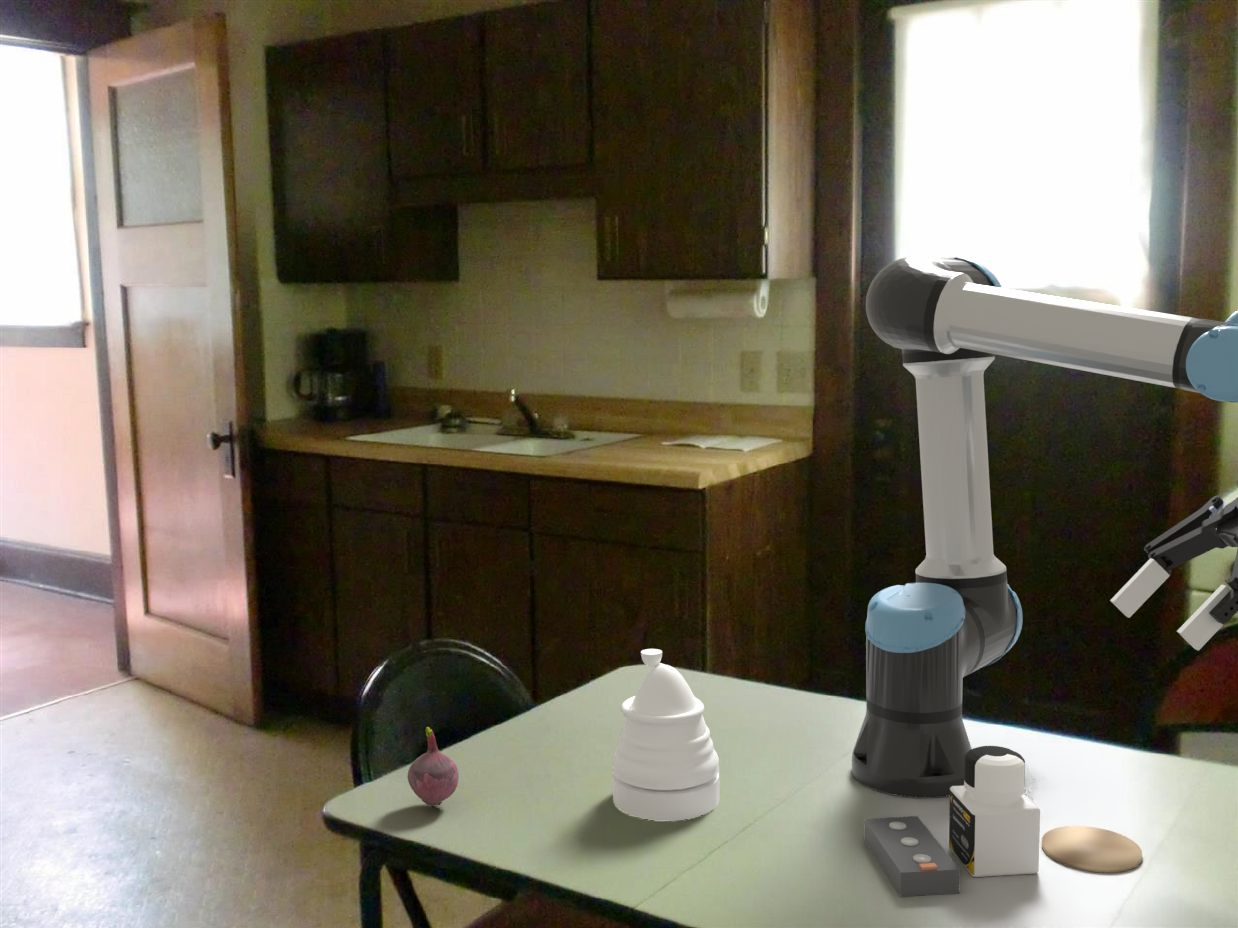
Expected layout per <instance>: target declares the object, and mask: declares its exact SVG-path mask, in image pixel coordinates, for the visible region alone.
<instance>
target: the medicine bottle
mask: <svg viewBox="0 0 1238 928" xmlns="http://www.w3.org/2000/svg"><path fill="white" fill-rule="evenodd" d="M1025 771H1026V760H1025V758H1024V757H1023V756H1022V755H1021V754H1020V753H1019V752H1017V751H1015V750H1012V749H1010V748H1008V747H1004V746H999V745H982V746H977V747H974V748H972V749H971V750H969V751H968V752H967V753H966V754H965V768H964V786H952V787H950V796H949V814H948V816H949V818H948V820H949V823H948V824H949V825H948V848H949V849H950V851H951V852H952V853H953V854H954V856H955V857H956V858H957V859H958V860H959V862H960V863H961V864H962V865H963V867H964V868H965V870H967V871H968V873H969V874H970V875H971V876H972V877H973V878H983V877H999V876H1016V875H1017V876H1019V875H1020V876H1021V875H1033V874H1035V875H1036V874H1038V873H1039V869H1040V868H1039V867H1040V835H1041V834H1040V832H1041V831H1040V828H1041V827H1040V826H1041V809H1040V808H1039V806H1037V805H1036V804H1035V803H1034V802H1033V801H1031V799H1030V798H1029V797H1027V795H1025V784H1026V783H1025V782H1026V781H1025V777H1026V772H1025Z"/></svg>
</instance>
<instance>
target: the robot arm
mask: <svg viewBox="0 0 1238 928" xmlns="http://www.w3.org/2000/svg"><path fill="white" fill-rule="evenodd" d="M865 312H866V316H867V319H868V322H869V325H870V327H871V328H872V330H873V332H874V333H875V334H876V336H878V338H879V339H881V340H882V341H883V342H884V343H885V344H888V345H890V346H892V347H893V348H897V349H900V350H901V355H902V356H901V358H902V367H904V368H905V369H906V370H907V371H908V372H910V373H911V374H912V376H913V377H914V379H915V392H916V409H917V424H918V425H917V426H918V439H919V457H920V473H921V488H922V489H921V491H922V505H923V508H922V509H923V522H924V537H925V538H924V539H925V553H926V555H925V558H924V560H923V561H921V563H920V564H919V565H918V566H917V567H916V568H915V582H908V583H905V584H904V585H903V584H902V585H900V584H896V585H892V586H888V587H885V588H883V589H881V590H880V591H878V592H877V593H875V594H874V595H873V596H872V597H871V599H870V600H869V603H868V605H867V613H866V615H867V617H866V621H865V623H864V624H865V627H864V628H865V629H864V630H865V635H866V636H865V637H866V641H865V646H866V647H865V648H866V651H865V653H866V655H865V660H866V662H865V664H866V667H865V668H866V670H865V671H866V675H865V677H866V678H865V680H866V682H865V684H866V685H865V688H866V689H865V692H866V699H865V700H866V702H865V703H866V707H865V710H866V711H865V714H864V715H865V716H864V718H863V721H862V724H861V726H860V727H861V728H860V730H859V733H858V736H857V738H856V742H855V744H854V748H853V750H852V755H851V773H852V775H853V777H854V778H855V779H856V781H858V782H859V783H860V784H862V785H864V786H866V787H868V788H870V789H873V790H875V791H878V792H881V793H885V794H889V795H894V796H900V797H906V798H907V797H908V798H919V799H920V798H923V799H926V798H927V799H928V798H929V799H930V798H931V799H932V798H944V797H950V787H952V786H964V768H965V754H966V753H967V752H968V751H969V750H971V749H973V748H972V745H971V743H970V740H969V736H968V733H967V730H966V726H965V725H964V721H963V685H964V684H963V683H964V682H963V678H965V677H966V676H968V675H970V674H972V673H974V672H976V671H978V670H980V669H981V668H983V667H988V666H990V665H992V664H994V663H996V662H997V661H998V660H1000V659H1001V658H1002V657H1003V656H1005V655H1006V653H1008V652H1009V651H1010V650H1011V649H1012V648H1013V647H1014V645H1015V644H1016V642H1018V639H1019V637H1020V634H1021V631H1022V629H1023V627H1022V626H1023V621H1024V620H1023V617H1024V616H1023V609H1022V605H1021V602H1020V599H1019V596H1018V595H1017V593H1016V592H1015V591H1013V590H1012V588H1011V587H1010V585H1009V584H1008V575H1007V566H1006V565H1005V564H1004V563H1003V562H1002V561H1001V560H1000V559H999V558H997V557H996V556H995V554H994V540H993V539H994V537H993V520H992V518H993V517H992V507H991V506H992V504H991V488H990V486H991V484H990V473H989V472H990V468H989V452H988V450H989V448H988V434H987V433H988V431H987V418H986V415H987V414H986V400H985V399H986V398H985V396H986V395H985V382H984V378H985V377H984V373H985V370H987V368H989V366H990V365H991V364H992V363H993V361H995V358H996V355H998V356H1002V357H1008V358H1013V359H1019V360H1024V361H1025V360H1026V361H1030V362H1035V363H1041V364H1047V365H1051V366H1057V367H1061V368H1062V367H1063V368H1067V369H1072V370H1079V371H1084V372H1088V373H1089V372H1090V373H1095V374H1099V375H1106V376H1109V377H1110V376H1111V377H1117V378H1122V379H1128V380H1133V381H1136V382H1137V381H1138V382H1142V383H1147V384H1148V383H1149V384H1154V385H1159V386H1165V387H1169V388H1175V389H1180V390H1184V391H1186V392H1187V391H1188V392H1193V393H1198V394H1200V395H1203V396H1204V397H1206V398H1209V399H1210V400H1214V401H1219V402H1226V403H1238V310H1237V311H1234V312H1233V313H1232V314H1231V315H1230V316H1229V317H1228V318H1227V319H1226V320H1225V321H1219V320H1214V319H1206V318H1196V317H1193V316H1192V317H1191V316H1184V315H1178V314H1172V313H1171V314H1170V313H1167V312H1166V313H1165V312H1159V311H1151V310H1147V309H1139V308H1133V307H1127V306H1126V307H1125V306H1120V305H1116V304H1115V305H1113V304H1108V303H1107V304H1106V303H1101V302H1095V301H1089V300H1082V299H1076V298H1075V299H1073V298H1068V297H1064V296H1063V297H1061V296H1056V295H1055V296H1054V295H1049V294H1041V293H1037V292H1029V291H1024V290H1017V289H1009V288H1003V287H1002V285H1001V283H1000V281H999V279H997V276H995V274H994V273H992V272H991V271H990V270H989V269H988V268H987V267H986V266H984V265H982V264H980V263H978V262H975V261H972V260H969V259H966V258H961V257H957V256H956V257H949V256H948V257H934V256H932V257H929V256H928V257H927V256H920V255H919V256H917V255H915V256H907V257H902V258H899V259H896V260H894V261H891V262H890V263H888V264H887V265H885V266H884V267H883V268H882V269H881V270H879V271H878V272H877V274H876V275H875V276H874V278H873V279H872V281H871V283H870V285H869V287H868V290H867V293H866V298H865ZM1236 485H1237V487H1238V480H1237V482H1236ZM1227 547H1230V548H1237V550H1236V554H1235V558H1234V559H1235V560H1234V563H1233V568H1232V571H1231V577H1230V578H1227V579H1224V582H1225V583H1226V584H1227V585H1228V586H1227V585H1225V584H1220V586H1219V587H1217V588H1216V590H1215V591H1214V592H1213V593H1212V594H1211V595H1210V596H1209V597H1208V598H1207V599H1206V600H1205V601H1204V602H1203V603H1202V604H1201V605H1200V606H1199V607H1198V608H1197V610H1195V611H1194V613H1193V614H1191V616H1190V617H1188V619H1186V621H1185V622H1184V623H1183V624H1182V625H1181V626H1180V627H1179V628H1178V629H1177V630H1176V632H1177V633H1178V634H1179V635H1180V636H1181V637H1182V638H1183V639H1184V640H1185V641H1186V642H1187V643H1188V644H1189V645H1190V646H1191V647H1192V648H1193V649H1194V650H1196V651H1200V650H1201V649H1202V648H1203V647H1204V646H1205V645H1206V643H1207V642H1209V640H1210V639H1211V638H1212V637H1213V636H1214V635H1215V634H1216V633H1217V632H1218V631H1219V630H1220V629H1221V628H1222V627H1223V626H1224V625H1225V624H1227V623H1228V622H1229V621H1230V620H1231V619H1232V618H1233V617H1234V616H1235V615H1236V614H1237V613H1238V496H1237V497H1236V498H1235V499H1233V500H1231V502H1229V503H1228V502H1225V501H1224V499H1222V498H1221V496H1219V495H1215V496H1214V495H1213V497H1211V498H1210V499H1209V500H1208V501H1207V502H1205V504H1204V505H1203V506H1202V507H1200V508H1199V509H1198V510H1197V511H1195V512H1193V513H1192V514H1191V515H1189V516H1187V517H1186V518H1185V519H1183V520H1181V521H1180V522H1178V523H1177V524H1175V525H1174V526H1172V527H1170V528H1169V529H1168V530H1167V531H1165V532H1164V533H1162V534H1161V535H1159V536H1157V537H1156V538H1153V540H1151V541H1150V542H1148V543H1147V544H1145V546H1144V548H1143V550H1144V551H1145V553H1147V554H1146V555H1148V560H1147V561H1146V562H1145V563H1144V564H1143V565H1142V566H1141V567H1140V568H1139V569H1138V570H1137V572H1135V574H1134V575H1132V577H1131V578H1130V579H1129V580H1128V581H1127V582H1126V583H1125V584H1124V585H1123V586H1122V587H1121V588H1120V589H1119V590H1118V592H1117V593H1115V594H1114V596H1113V597H1112V598H1111V599H1110V600H1109V601H1110V602H1111V603H1112V604H1113V606H1115V607H1116V608H1117V609H1118V610H1119V611H1120V612H1121V613H1122V614H1123V615H1124V616H1125V618H1129V619H1130V618H1131V617H1132V616H1133V614H1135V613H1136V612H1137V611H1138V609H1140V608H1141V607H1142V606H1143V604H1144V603H1145V602H1146V601H1148V599H1149V598H1150V597H1151V596H1152V595H1153V594H1154V593H1155V592H1156V591H1157V590H1158V589H1159V588H1160V587H1161V585H1163V584H1164V583H1165V582H1166V580H1168V578H1169V577H1171V576H1172V570H1173V569H1174V568H1178V566H1181V565H1183V564H1184V563H1187V562H1188V561H1191V560H1193V559H1195V558H1197V557H1199V556H1201V555H1204V554H1205V553H1207V552H1210V551H1213V550H1214V549H1216V548H1218V549H1221V550H1222V549H1226V548H1227ZM1229 587H1230V588H1229Z"/></svg>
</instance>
